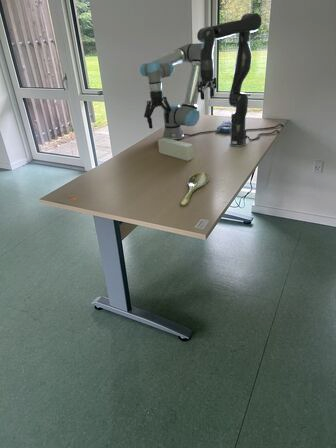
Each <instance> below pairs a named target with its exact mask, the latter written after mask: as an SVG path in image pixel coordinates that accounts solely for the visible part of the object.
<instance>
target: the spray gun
mask: <svg viewBox="0 0 336 448" xmlns="http://www.w3.org/2000/svg"><path fill="white" fill-rule="evenodd" d="M216 130H217V131H218V132H219V133H226V134H229V133H231V120H228V121H222V123H221V124H220V125H218V127H216Z"/></svg>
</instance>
